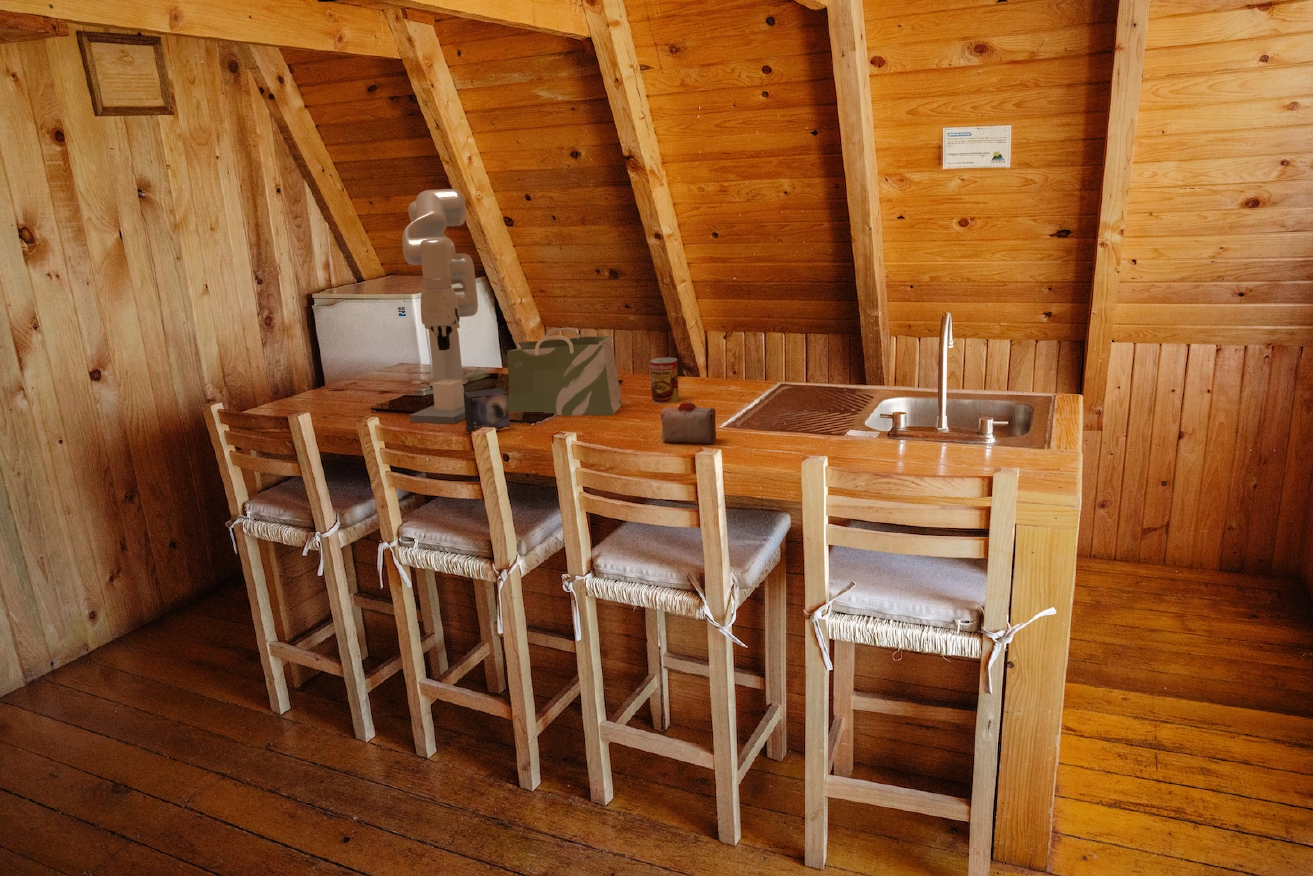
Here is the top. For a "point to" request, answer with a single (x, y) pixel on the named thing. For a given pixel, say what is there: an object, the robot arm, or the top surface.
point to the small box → (486, 409)
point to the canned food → (664, 380)
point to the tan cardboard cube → (448, 394)
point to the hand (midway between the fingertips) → (444, 349)
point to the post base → (438, 416)
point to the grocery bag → (564, 376)
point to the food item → (688, 424)
